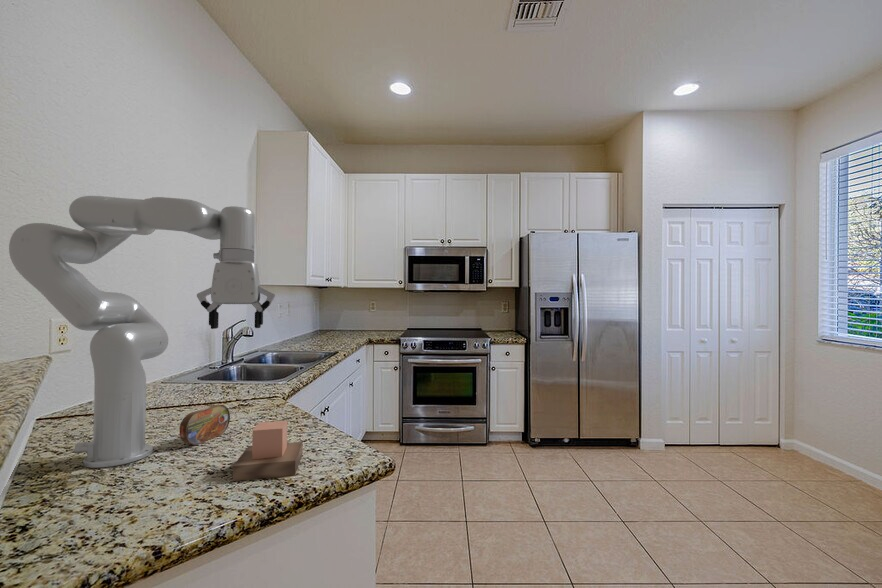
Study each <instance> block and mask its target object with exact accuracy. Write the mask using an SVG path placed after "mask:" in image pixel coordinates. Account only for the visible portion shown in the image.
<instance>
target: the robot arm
mask: <svg viewBox="0 0 882 588" xmlns="http://www.w3.org/2000/svg"><path fill="white" fill-rule="evenodd" d="M68 213H69V216H70V218H71V219H72V221H73V222H74V223H75V224H76V225H78V226H79V227H81V228H82V230H78V229H73V228H70V227H65V226H62V225H57V224H51V223H46V222H45V223H44V222H43V223H42V222H33V223H32V222H31V223H26V224H24V225H21V226H19V227H18V228H16V229H15V230H14V232H13V233H12V234H11V237H10V239H9V244H8V251H9V252H8V253H9V258H10V260H11V263H12V264H13V266H14V269H16V271H17V272H18V273H19V275H21V276H22V277H23V279H24V280H25V281H27V282H28V283H29V284H30V285H31V286H33V287H34V288H35V289H36V290H37V291H38V292H40V294H41V295H42V296H43V297H44V298H45V299H46V300H47V301H48V303H50V304H51V305H52V306H53V308H55V310H57V312H59V313H60V314H61V316H63V317H64V319H66V320H67V321H68V323H70V324H71V325H72V326H73V327H74V328H75V329H78V330H81V331H90V332H91V331H97V332H95V333H94V334H93V336H92V338H91V340H90V343H89V352H90V359H91V361H92V367H93V376H94V378H93V379H94V385H93V387H94V388H93V390H94V391H93V393H94V394H93V395H94V396H93V397H94V398H93V403H94V404H93V437H92V440H91V441H84V442H83V441H82V442H77V443H76V444H75V445H74V450H73V453H74V454H82V453H85V454H86V456H85V457H84V458H83V461H82V462H83V466H84V467H86V468H94V469H99V468H100V469H101V468H110V467H115V466H116V467H117V466H122V465H125V464H129V463H134V462H136V461H139V460H141V459H144V458H146V457H148V456H150V455H151V454H152V453H153V451H154V448H153V445H152V444H151V445H150V444H149V443H146V417H147V415H146V414H147V409H146V407H147V377H146V372H145V369H144V366H143V364H142V361H144V360H149V359H154V358H156V357H159V355H162V354H163V353H164V352H165V351H166V349H167V348H168V345H169V335H168V333H167V331H166V329H165V328H164V326H163V325H162V324H161V323H160V322H159V321H158V320H157V319H156V318H155V317H154V316H153V315H152V314H151V313H150V312H149V311H148V310H147V309H146V308H145V307H144V306H143V305H142V304H141V303H140V302H139V301H138V300H136V299H135V298H133V297H132V296H130V295H128V294H125V293H122V292H115V291H114V292H111V291H104V290H101V289H99V288H98V287H96V286H95V285H94V284H93V283H92V282H91V281H90V280H88V278H86V276H85V275H84V274H83V273H81V272H80V271H79V270H78V269H76V268H74V267H73V266H72V265H70V264H75V265H76V264H77V265H86V264H88V265H89V264H92V263H94V262H96V261H99V259H101V258H102V257H104V256H106V255H107V254H109V253H110V252H112V250H114V249H115V248H116V247H118V246H120V245H121V244H122V243H124V242H126V240H128V238H130V237H131V236H132V235H136V236H137V235H140V236H148V235H152V234H153V233H154V232H155V231H156V230H160V231H161V230H163V231H175V232H181V233H182V232H183V233H187V234H191V235H195V236H197V237H199V238H202V239H206V240H209V241H210V240H212V241H215V240H216V241H217V240H219V250H218V252H216V253H215V252H213V253H212V254H213V259H217V260H218V261H219V262H215V264H214V268H213V269H214V270H213V274H212V281H211V287H209V288H207V289H205V290H203V291H200V292H197V293H196V298H197V299H198V301H199V302H200V305H201V306H202V307H203V308H204V309H205V310H206V311H207V312H208V326H210V329H211V330H213V329H214V330H215V329H218V328H219V318H220V317H219V312H218V309H219V308H221V306H222V305H251V306H252V307H253V308H255V312H254V328H255V329H261V328H262V327H261V326H262V325H263V323H264V312H265V310H266V309H268V308H269V306H271V305H272V302H273V300H274V299H275V297H276V295H275V293H273V292H271V291H270V290H267V289H264V288H263V287H261V285H260V282H261V281H260V275H259V274H260V273H259V268H258V264H256V263H255V240H256V239H255V233H256V232H255V230H256V217H255V213H254V211H252V210H251V209H249V208H247V207H243V206H237V205H236V206H232V205H231V206H225V207H223V208H222V209H221V211H220V210H218V209H214V208H212V207H209V206H208V205H206V204H204V203H202V202H199V201H197V200H192V199H188V198H187V199H186V198H177V197H176V198H175V197H167V196H166V197H164V196H155V197H154V196H153V197H148V198H145V199H142V198H141V199H139V198H138V199H136V198H126V197H115V196H114V197H113V196H103V195H83V196H80V197H78V198H76V199H74V200H73V201H71V203H70V205H69V209H68ZM209 295H210V301H211V303H210V302H209V301H208V300H207V297H208V296H209ZM261 295H264V296H266V299H265V301H264V302H263V303H261V302H260V301H261Z"/></svg>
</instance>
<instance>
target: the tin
mask: <svg viewBox="0 0 882 588" xmlns="http://www.w3.org/2000/svg"><path fill="white" fill-rule="evenodd" d="M230 420H231V414H230V410H229V408H228V407H227V406H226V405H225V404H214V405H211V406H207V407H204V408H201V409H198V410H194V411H192V412H189V413H187V414H185V416H184V417H183V418H182V420H181V422H180V424H179V437H180V440H181V442H182V443H184V444H186V445H195V446H198V445H202V444H203V442H204V443H206V442H208V441H210V440H213V439H215V438H218V437H219V436H221V435H223V434H224V433H225V432H226V431H227V429H228V427H229V425H230Z"/></svg>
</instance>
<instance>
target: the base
mask: <svg viewBox="0 0 882 588" xmlns="http://www.w3.org/2000/svg"><path fill="white" fill-rule="evenodd" d="M303 443H304V442H303V441H294V442H293V441H292V442H287V448H286V450H285V452H284V454H283V456H282V457H272V458H260V459H252V445H248V446H247V447H246V449H245V450H244V451H243V452H242V453H241V455H240V456H239V458H238V459H237V460H236V462H235V463H234V464H233V465H232V482H235V481H236V482H238V481H247V480H257V479H268V478H278V477H280V478H281V477H287V476H288V477H289V476H296V475H297V474H296V473H297V472H298V469H299V466H300V463H301V461H302V460H301V459H302V457H303V455H302V454H303V450H304V449H303V445H304V444H303ZM296 471H297V472H296Z"/></svg>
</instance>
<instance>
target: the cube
mask: <svg viewBox="0 0 882 588" xmlns="http://www.w3.org/2000/svg"><path fill="white" fill-rule="evenodd" d="M287 443H288V420H278V421H264V422H258V424H256V426H255V427H254V428H253V430H252V444H251V446H252V459H260V458H272V457H282V456H283V454H284V452H285V450H286V448H287Z"/></svg>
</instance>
